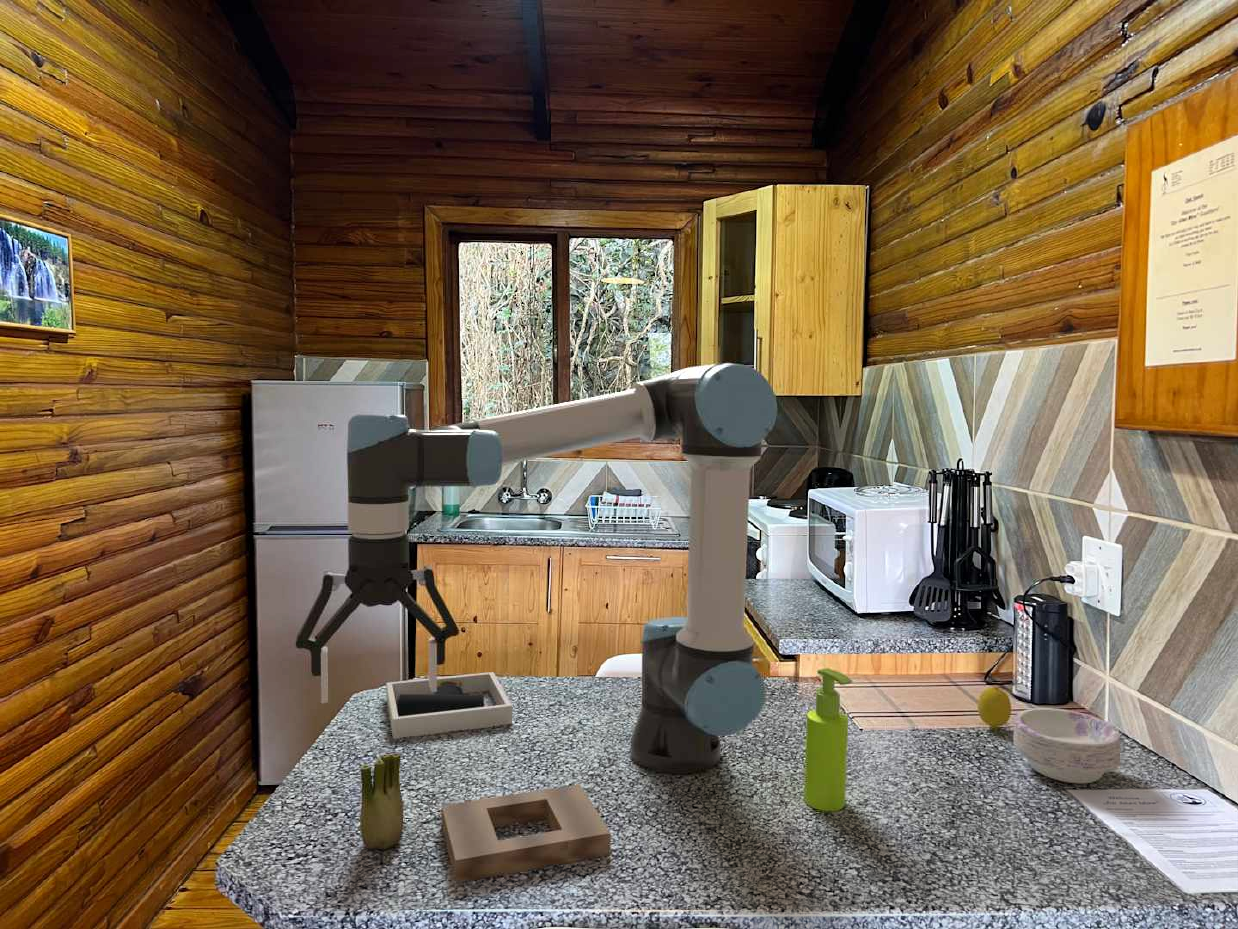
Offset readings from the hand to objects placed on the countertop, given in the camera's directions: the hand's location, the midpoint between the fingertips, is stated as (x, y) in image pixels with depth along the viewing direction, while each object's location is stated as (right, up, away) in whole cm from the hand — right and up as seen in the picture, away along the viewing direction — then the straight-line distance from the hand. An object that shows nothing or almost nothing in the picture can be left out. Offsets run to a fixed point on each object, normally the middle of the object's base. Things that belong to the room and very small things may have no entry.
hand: (379, 694), depth 105 cm
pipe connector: (-1, -17, +46) cm, 49 cm away
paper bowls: (+104, -20, +25) cm, 109 cm away
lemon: (+100, -19, +42) cm, 110 cm away
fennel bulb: (0, -21, +2) cm, 21 cm away
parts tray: (-1, -17, +47) cm, 50 cm away
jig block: (+18, -21, +3) cm, 28 cm away
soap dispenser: (+62, -20, +14) cm, 67 cm away
